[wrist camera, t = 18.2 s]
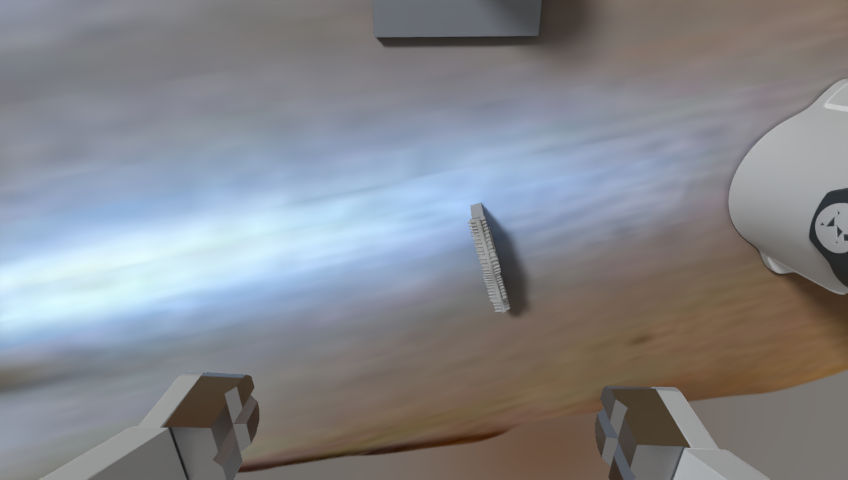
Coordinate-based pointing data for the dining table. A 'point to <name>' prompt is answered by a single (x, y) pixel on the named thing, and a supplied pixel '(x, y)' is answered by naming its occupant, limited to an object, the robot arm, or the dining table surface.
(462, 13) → the coaster holder
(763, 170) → the robot arm
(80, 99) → the dining table surface
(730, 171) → the dining table surface
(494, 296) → the grey pin header
